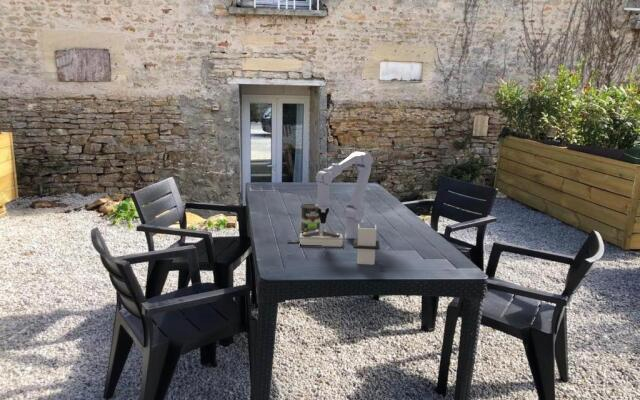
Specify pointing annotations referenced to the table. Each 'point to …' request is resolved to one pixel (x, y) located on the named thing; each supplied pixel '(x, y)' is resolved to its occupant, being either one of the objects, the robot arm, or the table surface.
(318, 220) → the coffee can
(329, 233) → the rocker
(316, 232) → the rocker
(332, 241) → the rocker switch box
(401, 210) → the table surface
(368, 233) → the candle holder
